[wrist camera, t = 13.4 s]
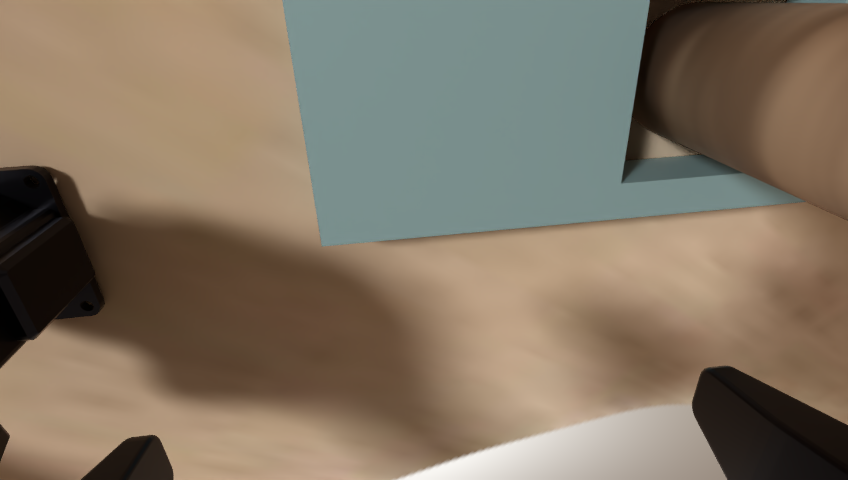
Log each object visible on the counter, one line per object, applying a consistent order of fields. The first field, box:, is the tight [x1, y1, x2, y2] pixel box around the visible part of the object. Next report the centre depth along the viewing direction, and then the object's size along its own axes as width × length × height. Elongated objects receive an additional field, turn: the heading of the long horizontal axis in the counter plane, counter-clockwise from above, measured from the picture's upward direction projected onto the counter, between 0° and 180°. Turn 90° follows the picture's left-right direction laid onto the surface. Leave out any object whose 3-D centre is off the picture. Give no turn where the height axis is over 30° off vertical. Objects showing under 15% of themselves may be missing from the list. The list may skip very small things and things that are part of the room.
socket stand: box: [282, 0, 848, 246], centre depth 17 cm, size 20×10×2 cm, turn 93°
